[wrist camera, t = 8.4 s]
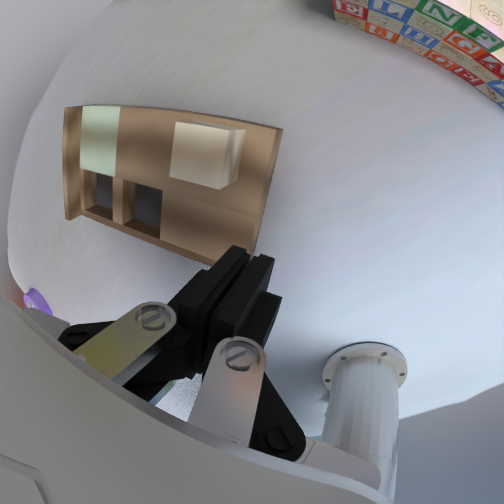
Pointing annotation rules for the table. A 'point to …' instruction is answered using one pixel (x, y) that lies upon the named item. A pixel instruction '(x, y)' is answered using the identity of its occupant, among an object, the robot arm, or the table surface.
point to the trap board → (162, 180)
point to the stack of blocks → (440, 34)
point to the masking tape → (36, 301)
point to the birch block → (206, 153)
